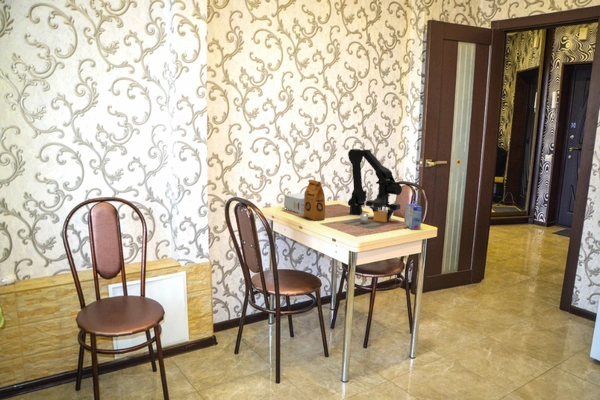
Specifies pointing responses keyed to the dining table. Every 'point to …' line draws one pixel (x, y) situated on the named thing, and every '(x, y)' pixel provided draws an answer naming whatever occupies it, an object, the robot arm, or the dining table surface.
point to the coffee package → (314, 201)
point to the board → (370, 224)
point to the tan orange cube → (381, 216)
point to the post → (364, 219)
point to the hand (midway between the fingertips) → (382, 220)
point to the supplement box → (294, 202)
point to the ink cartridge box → (413, 215)
